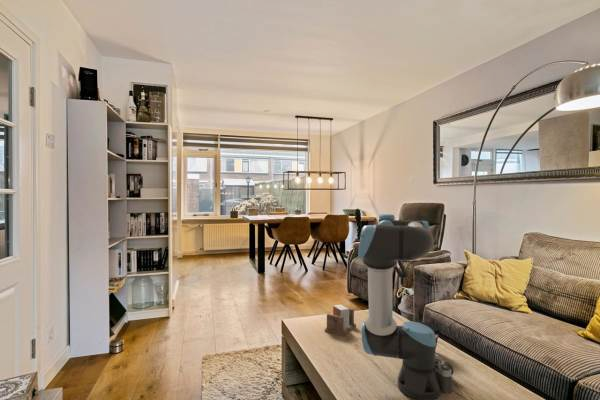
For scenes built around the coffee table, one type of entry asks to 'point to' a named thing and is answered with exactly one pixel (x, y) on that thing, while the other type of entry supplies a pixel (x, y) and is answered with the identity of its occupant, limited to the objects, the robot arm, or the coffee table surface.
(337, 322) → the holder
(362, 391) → the coffee table surface
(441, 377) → the camera
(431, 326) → the coffee cup
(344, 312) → the small box
